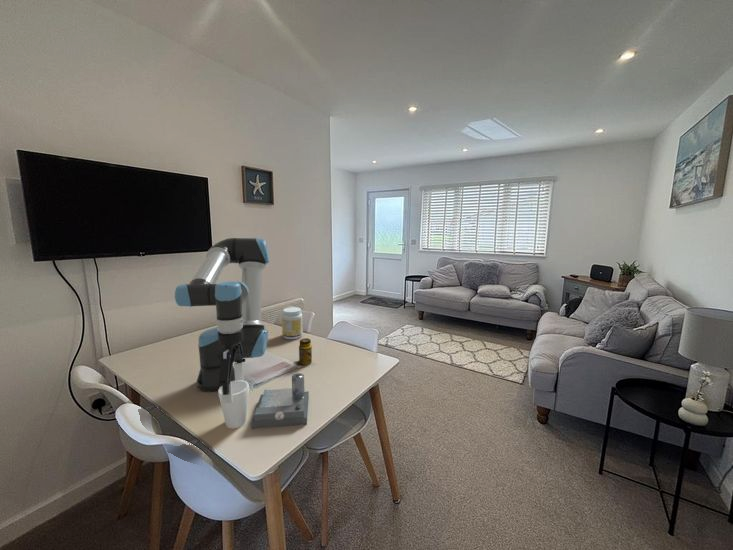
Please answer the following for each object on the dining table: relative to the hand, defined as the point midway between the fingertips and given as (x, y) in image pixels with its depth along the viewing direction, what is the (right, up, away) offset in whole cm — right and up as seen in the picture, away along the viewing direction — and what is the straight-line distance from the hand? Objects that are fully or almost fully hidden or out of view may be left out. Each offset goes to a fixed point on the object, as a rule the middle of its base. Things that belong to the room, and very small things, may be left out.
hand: (233, 390), depth 98 cm
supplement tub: (0, +1, +80) cm, 80 cm away
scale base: (+14, -11, +9) cm, 20 cm away
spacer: (+19, -6, +10) cm, 23 cm away
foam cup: (0, -12, +2) cm, 12 cm away
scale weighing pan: (+14, -8, +10) cm, 19 cm away
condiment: (+14, -5, +46) cm, 48 cm away
